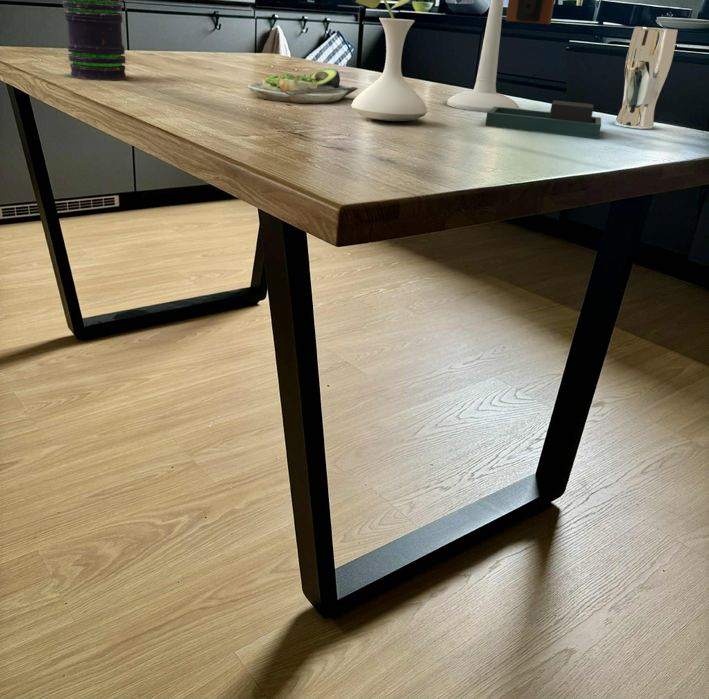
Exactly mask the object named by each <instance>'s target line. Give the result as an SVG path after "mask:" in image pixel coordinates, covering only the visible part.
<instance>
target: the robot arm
mask: <svg viewBox="0 0 709 699" xmlns="http://www.w3.org/2000/svg"><path fill="white" fill-rule="evenodd" d="M542 1H543V0H519V1H518V8H517V15H516V19H517V20H522V21H535V22H537V21H539V19H540V13H541V7H542Z"/></svg>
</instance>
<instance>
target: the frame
mask: <svg viewBox="0 0 709 699" xmlns="http://www.w3.org/2000/svg"><path fill="white" fill-rule="evenodd" d="M549 117H550V111H542V110H534V109H533V110H532V109H525V108H519V109H515V108H505V107H496V106H494V107H493V108H492V109H491V110H490V111H488V112H486V117H485V124H484V125H485V127H489V128H490V127H491V128H499V129H508V130H517V131H525V132H535V133H543V134H551V135H552V134H553V135H561V136H571V137H580V138H581V137H582V138H587V139H595V140H596V139H597V140H598V139H599V137H600V132H601V128H602V117H599V116H598V117H597V116H592V118H591V123H587V122H578V121H568V120H559V119H550V118H549Z"/></svg>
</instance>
